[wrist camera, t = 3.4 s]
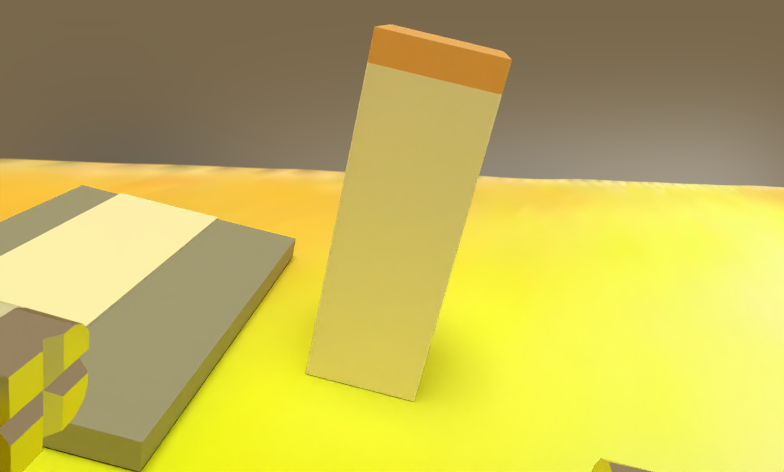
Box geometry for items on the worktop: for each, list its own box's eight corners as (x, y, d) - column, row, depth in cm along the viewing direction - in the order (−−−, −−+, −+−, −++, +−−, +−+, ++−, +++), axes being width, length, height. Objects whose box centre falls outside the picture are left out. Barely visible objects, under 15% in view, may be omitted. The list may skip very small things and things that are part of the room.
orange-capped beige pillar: (421, 343, 25) (503, 51, 21) (414, 401, 21) (511, 59, 17) (329, 320, 25) (390, 24, 21) (305, 373, 21) (374, 26, 17)
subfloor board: (292, 256, 30) (295, 237, 29) (140, 471, 16) (142, 439, 15) (82, 203, 30) (82, 183, 30) (-250, 368, 16) (-258, 334, 16)
